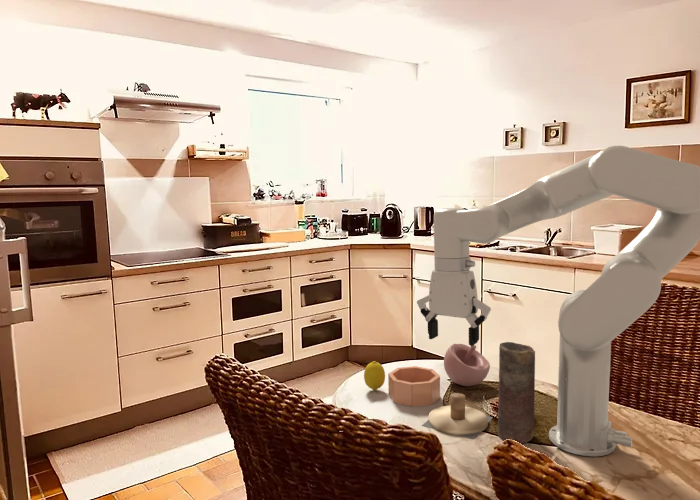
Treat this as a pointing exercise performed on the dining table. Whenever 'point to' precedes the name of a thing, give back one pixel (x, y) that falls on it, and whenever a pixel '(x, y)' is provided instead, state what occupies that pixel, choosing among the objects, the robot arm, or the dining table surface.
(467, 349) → the mortar and pestle
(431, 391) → the bowl
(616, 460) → the dining table surface
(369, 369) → the lemon
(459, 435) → the mat
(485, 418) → the lid
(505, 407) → the stone cylinder
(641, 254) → the robot arm
